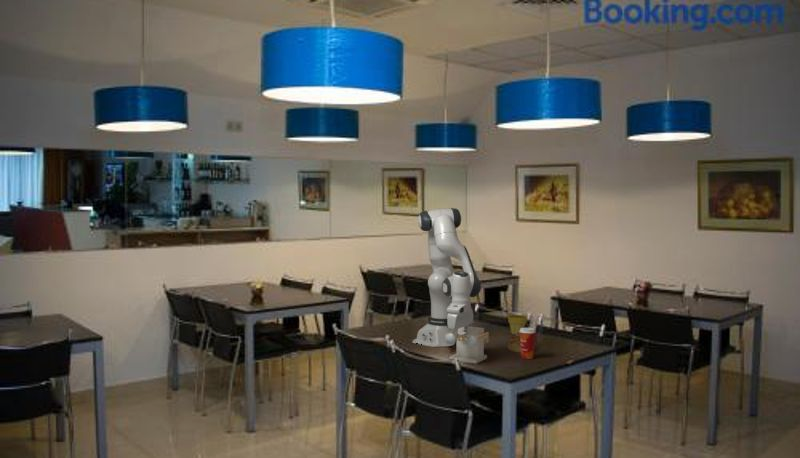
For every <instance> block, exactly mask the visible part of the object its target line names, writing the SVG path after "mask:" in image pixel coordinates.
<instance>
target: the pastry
mask: <svg viewBox="0 0 800 458" xmlns="http://www.w3.org/2000/svg"><path fill="white" fill-rule="evenodd" d="M507 349H508V351H511V352H514V353H520V354H521V345H520V333H513V334H512V336H511V338H510V340H509V341H508V342H507ZM534 350H535V345H534Z"/></svg>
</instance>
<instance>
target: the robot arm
mask: <svg viewBox="0 0 800 458" xmlns="http://www.w3.org/2000/svg"><path fill="white" fill-rule="evenodd" d="M461 223H462V215H461V212H460V210H459V209H458V208H454V207H451V208H437V209H429V210H423V211H420V213H419V215H418V219H417V224H418V227H419V229H420V230H421V231H423V232H428V233H427V243H428V244H427V247H428V257H429V261H430V264H431V268H432V273H431V274H430V275H429V277H428V280H427V285H428V286H427V287H428V289H429V291H428V292H429V296H430V316H429V317H427V318H426V321H428V322H427V323H426V324H425V325H423V327H421V328H420V329H419V330H418V331H417V335H416V338H415V339H413V340H412V344H416V343H418V344H417V345H421V344H422V345H421V346H427V347H432V348H437V347H450V346H454V345H455V344H456V342H455V343H453V344H448V343H446V341H445V336H446V335H445V333H447V332H450V331H452V330H453V334H454V338H456V340H457V338H459V334H458V332H457V331H458V329H459V328H462V327H464V331H463V335H467V334H468V329H469V326H470V325H471V324H474V310H473V309H472V305H471V304H472V303H471V298H475V297H477V296H478V295H479V293H481V290H482V286H481V285H482V284H481V281H480V279H479V277H478V276H477V273H476V270H475V268H474V265H473V263H472V259H471V256H470V253H469V251H468V249H467V247H466V245H464V244H462V243H461V241H460V240H459V237H458V233H457V229H458V228H459V227H460V226H461ZM452 258H454V259H456V260H458V261H459V262H460V264H461V267H462V270H461V271H459V270H458V271H457V270H456V271H454V266H453V263H452Z"/></svg>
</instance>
